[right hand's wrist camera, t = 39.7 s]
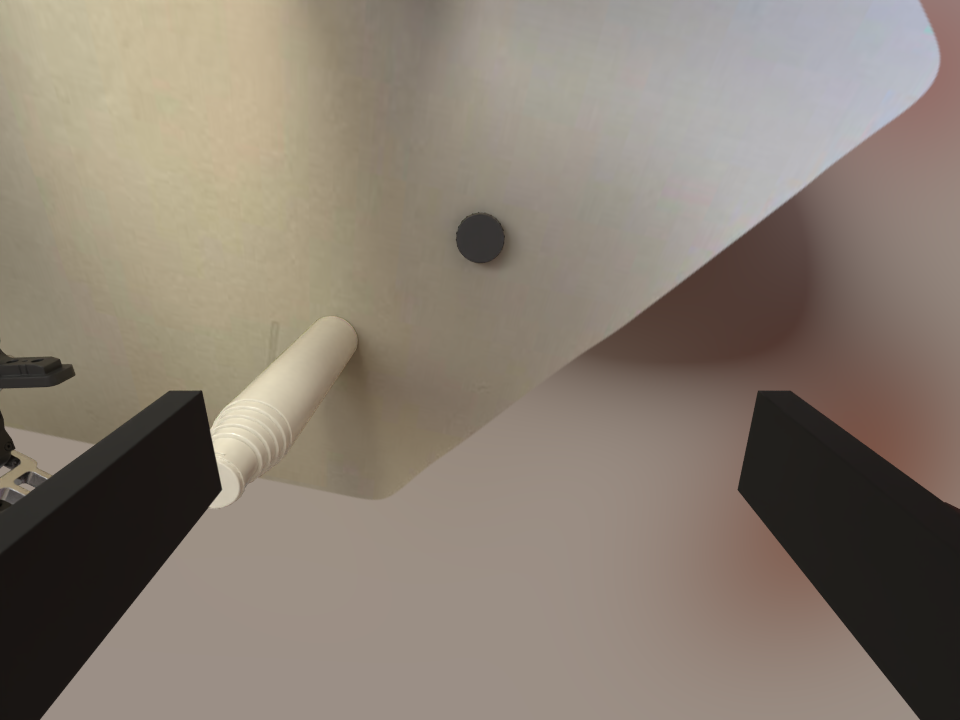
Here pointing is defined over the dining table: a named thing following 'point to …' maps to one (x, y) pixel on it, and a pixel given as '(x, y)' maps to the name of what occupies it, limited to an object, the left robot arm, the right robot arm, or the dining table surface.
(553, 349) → the dining table surface
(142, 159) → the dining table surface
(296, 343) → the bottle
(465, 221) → the cap
